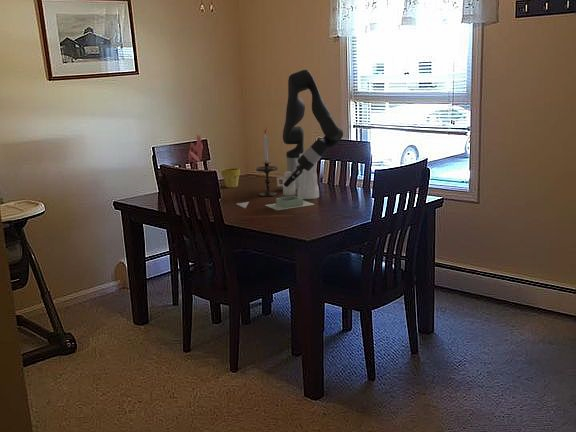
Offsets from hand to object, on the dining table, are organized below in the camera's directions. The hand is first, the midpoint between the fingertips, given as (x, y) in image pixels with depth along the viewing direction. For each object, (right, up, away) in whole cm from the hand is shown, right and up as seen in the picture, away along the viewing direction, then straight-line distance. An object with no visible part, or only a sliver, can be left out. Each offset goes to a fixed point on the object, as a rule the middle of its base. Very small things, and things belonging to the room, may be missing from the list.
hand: (285, 184), depth 323 cm
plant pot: (-30, +1, +60) cm, 67 cm away
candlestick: (-9, -4, +31) cm, 32 cm away
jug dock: (+2, -10, +2) cm, 11 cm away
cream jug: (+1, -5, +1) cm, 5 cm away
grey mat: (-16, -10, +9) cm, 21 cm away
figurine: (-40, -10, +13) cm, 43 cm away
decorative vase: (+12, -6, +19) cm, 23 cm away
